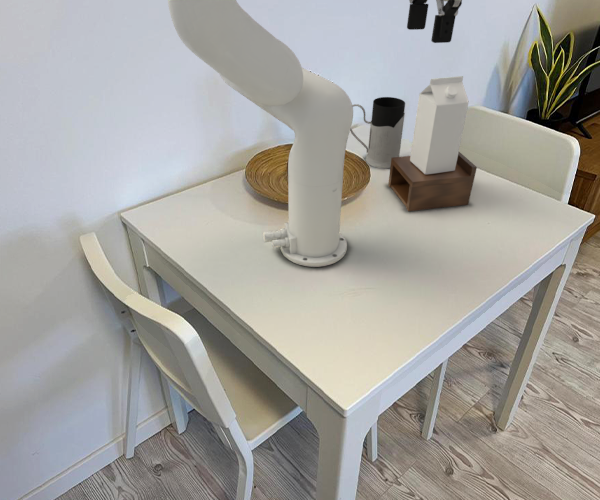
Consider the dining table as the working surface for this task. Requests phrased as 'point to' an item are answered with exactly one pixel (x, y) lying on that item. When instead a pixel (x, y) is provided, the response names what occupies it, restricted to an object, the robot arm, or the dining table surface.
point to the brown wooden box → (431, 184)
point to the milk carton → (439, 125)
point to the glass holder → (384, 131)
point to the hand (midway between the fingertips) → (427, 35)
